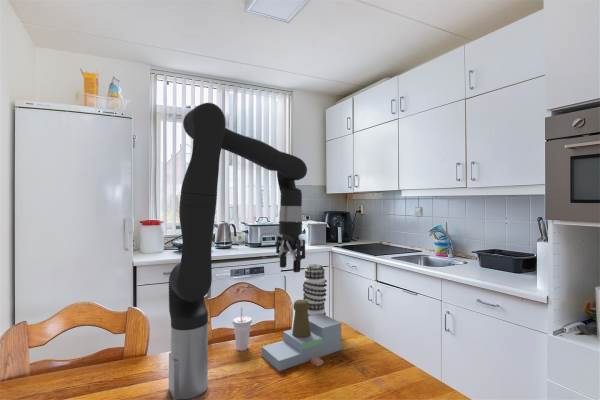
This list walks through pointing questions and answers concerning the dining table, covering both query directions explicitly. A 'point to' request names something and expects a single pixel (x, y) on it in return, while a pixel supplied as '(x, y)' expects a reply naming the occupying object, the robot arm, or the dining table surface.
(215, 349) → the dining table surface
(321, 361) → the pointer
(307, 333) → the olive green pepper mill
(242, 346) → the smoothie
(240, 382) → the dining table surface
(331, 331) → the step stand
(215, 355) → the dining table surface
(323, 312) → the decorative candle
